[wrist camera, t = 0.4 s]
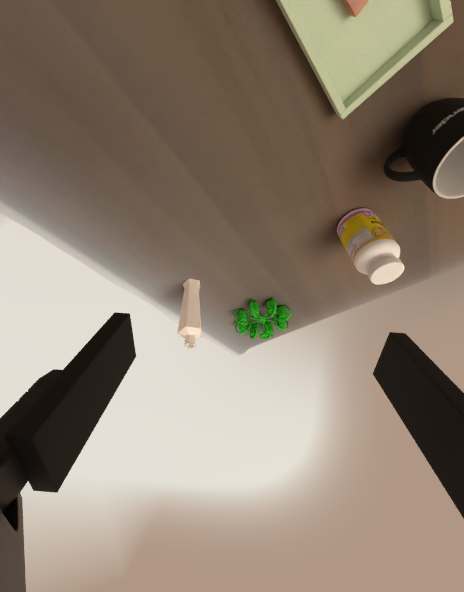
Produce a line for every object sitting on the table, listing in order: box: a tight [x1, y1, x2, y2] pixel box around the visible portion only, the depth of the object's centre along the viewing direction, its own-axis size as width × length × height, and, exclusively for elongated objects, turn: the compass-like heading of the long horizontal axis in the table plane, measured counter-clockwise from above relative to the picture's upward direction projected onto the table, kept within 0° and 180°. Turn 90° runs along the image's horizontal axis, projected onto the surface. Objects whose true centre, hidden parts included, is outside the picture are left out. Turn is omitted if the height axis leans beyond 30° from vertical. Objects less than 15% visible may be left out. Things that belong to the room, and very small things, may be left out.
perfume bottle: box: [178, 278, 201, 349], centre depth 51 cm, size 5×4×15 cm
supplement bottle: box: [337, 208, 404, 284], centre depth 41 cm, size 7×7×13 cm
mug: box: [384, 98, 464, 199], centre depth 32 cm, size 12×9×10 cm
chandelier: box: [234, 299, 291, 339], centre depth 63 cm, size 15×15×7 cm
